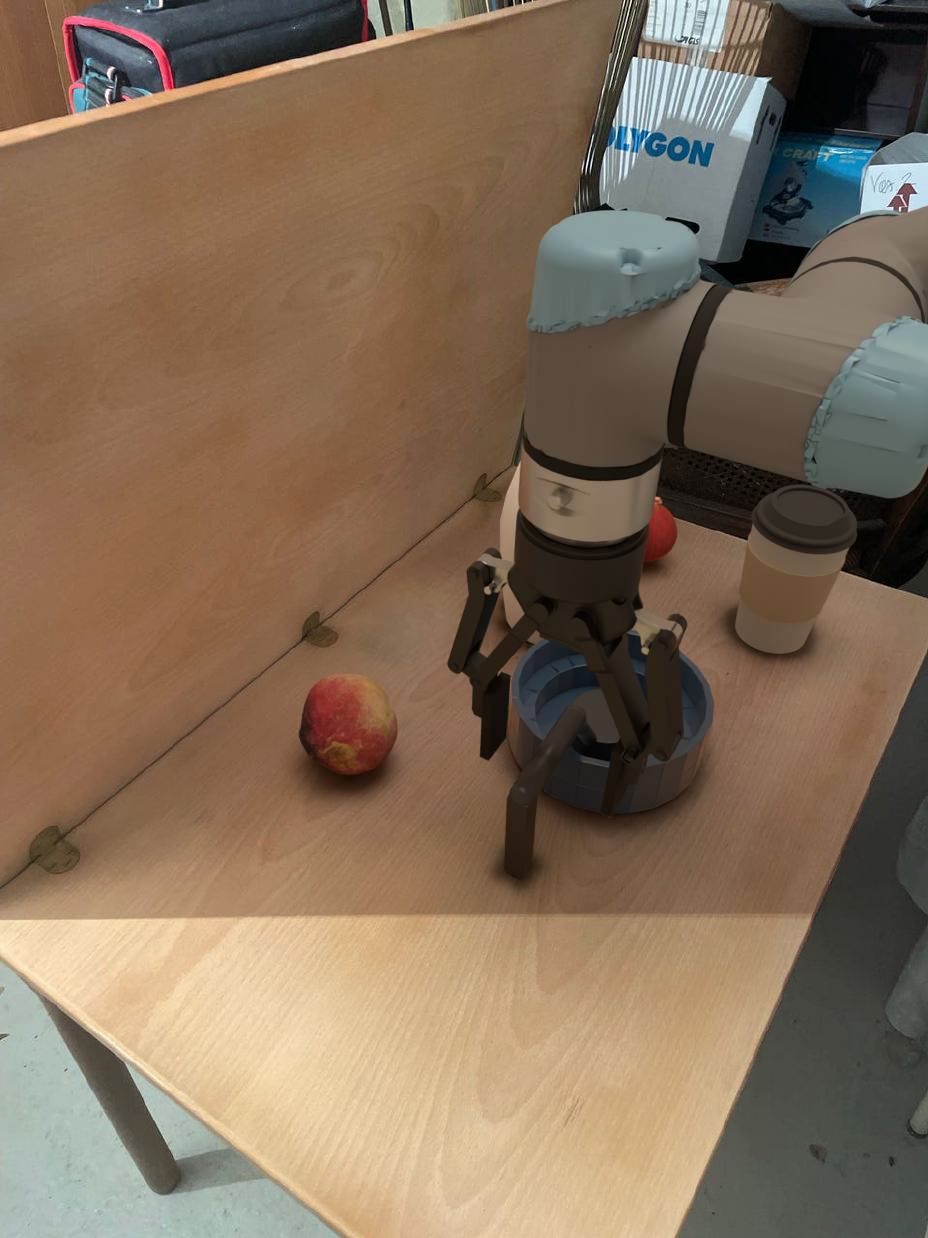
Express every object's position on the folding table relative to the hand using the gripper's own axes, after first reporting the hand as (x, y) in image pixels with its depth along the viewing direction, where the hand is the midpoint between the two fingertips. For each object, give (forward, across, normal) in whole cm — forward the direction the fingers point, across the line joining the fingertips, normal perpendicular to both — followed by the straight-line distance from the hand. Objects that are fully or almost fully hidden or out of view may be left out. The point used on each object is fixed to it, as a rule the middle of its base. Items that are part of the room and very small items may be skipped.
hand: (551, 773), depth 65 cm
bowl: (+7, 0, +11) cm, 13 cm away
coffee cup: (+7, +8, +33) cm, 35 cm away
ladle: (+6, 0, +5) cm, 8 cm away
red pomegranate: (+7, -7, +37) cm, 38 cm away
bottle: (+7, -11, +23) cm, 26 cm away
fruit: (+7, -17, -2) cm, 19 cm away
